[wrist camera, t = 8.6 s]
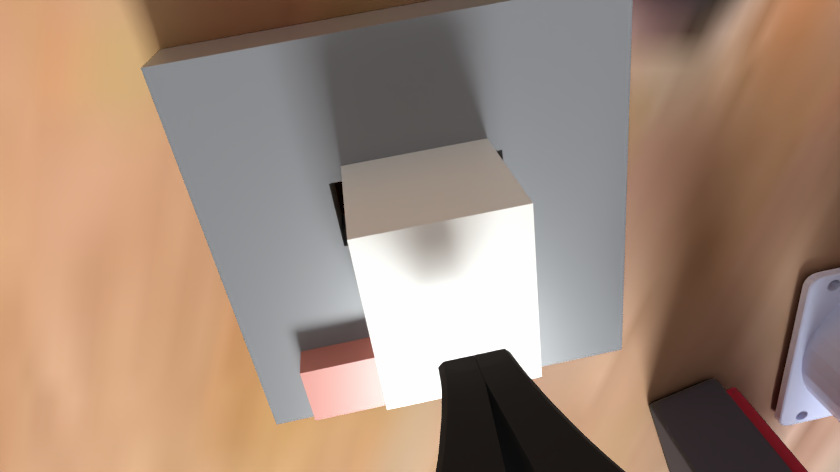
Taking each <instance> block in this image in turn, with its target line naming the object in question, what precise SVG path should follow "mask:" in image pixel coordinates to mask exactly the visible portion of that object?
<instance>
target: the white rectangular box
mask: <svg viewBox="0 0 840 472" xmlns="http://www.w3.org/2000/svg"><path fill="white" fill-rule="evenodd" d="M341 175H342V187H343V198H344V210H345V221H346V233H347V242H348V246H349V250H350V254H351V259H352V263H353V267H354V271H355V276H356V280H357V284H358V288H359V293H360V297H361V301H362V305H363V310H364V314H365V318H366V322H367V327H368V331H369V335H370V339H371V344H372V348H373V352H374V356H375V361H376V365H377V369H378V373H379V378H380V382H381V386H382V390H383V395H384V399H385V403H386V407H387V410H389V409H394V408H398V407H403V406H408V405H412V404H417V403H422V402H426V401H431V400H436V399H440V398H442V390H441V382H440V376H439V370H438V367H439V366H440V365H441V363H442V362H444V361H449V360H453V359H458V358H462V357H467V356H472V355H476V354H481V353H486V352H490V351H495V350H500V349H506V350H508V351H509V352H511V354H512V355H513V357H514V358H515V359H516V361H517V362H518V363H519V365H520V366H521V367H522V368H523V370H524V371H525V372H526V373H527V375H528V376H529V377H530V378H531V379H534V378H538V377H542V369H541V349H540V329H539V310H538V290H537V270H536V250H535V231H534V211H533V202H532V201H531V200H530V198H529V197H528V195H527V194H526V193H525V191H524V190H523V188H522V187H521V185H520V184H519V183H518V181H517V180H516V178H515V177H514V176H513V174H512V173H511V171H510V170H509V168H508V167H507V166H506V164H505V163H504V161H503V160H502V159H501V157H500V156H499V154H498V153H497V151H496V150H495V149H494V147H493V146H492V144H491V143H490V142H489V140H488V139H487V138H486V139H481V140H476V141H470V142H465V143H460V144H455V145H449V146H444V147H439V148H434V149H428V150H423V151H418V152H412V153H407V154H402V155H397V156H391V157H386V158H381V159H376V160H370V161H365V162H360V163H355V164H349V165H344V166H341Z"/></svg>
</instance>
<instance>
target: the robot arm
mask: <svg viewBox="0 0 840 472" xmlns="http://www.w3.org/2000/svg"><path fill="white" fill-rule="evenodd" d="M438 370H439V376H440V382H441V390H442V419H441V432H440V444H439V454H438V462H437V468H436V472H625V471H624V470H623V469H621V468H620V467H619V466H618V465H617V464H616V463H614V462H613V461H612V460H611V459H610V458H609V457H608V456H607V455H605V454H604V453H603V452H602V451H601V450H600V449H599V448H598V447H597V446H596V445H594V444H593V443H592V442H591V441H590V440H589V439H588V438H587V437H586V436H585V435H584V434H583V433H582V432H581V431H580V430H579V429H578V428H577V427H576V426H575V425H574V424H573V423H572V422H571V421H570V420H569V419H568V418H567V417H566V416H565V415H564V414H563V413H562V412H561V411H560V410H559V409H558V408H557V407H556V406H555V405H554V404H553V403H552V402H551V401H550V400H549V399H548V397H547V396H546V395H545V394H544V393H543V392H542V391H541V390H540V388H539V387H538V386H537V385H536V384H535V383H534V382H533V380H532V379H531V378H530V377H529V376H528V375H527V373H526V372H525V371H524V370H523V368H522V367H521V366H520V365H519V363H518V362H517V361H516V359H515V358H514V357H513V355H512V354H511V352H509V351H508V350H506V349H500V350H495V351H490V352H486V353H481V354H476V355H472V356H467V357H462V358H458V359H453V360H449V361H444V362H442V363H441V365H440V366H439V367H438ZM832 415H833V416H834V417H835V418H836V419H837V420H838V421H839V422H840V268H835V269H831V270H826V271H821V272H817V273H814V274H812V275H810V276H809V277H808V278H807V279H806V280H805V281H804V284H803V287H802V291H801V296H800V300H799V305H798V310H797V314H796V319H795V324H794V328H793V333H792V337H791V342H790V347H789V351H788V356H787V361H786V365H785V370H784V374H783V379H782V384H781V388H780V393H779V398H778V402H777V407H776V411H775V418H776V419H777V420H778V422H779V423H780V424H781V425H784V426H787V425H793V424H797V423H801V422H806V421H810V420H814V419H819V418H823V417H828V416H832Z"/></svg>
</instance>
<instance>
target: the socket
mask: <svg viewBox="0 0 840 472" xmlns="http://www.w3.org/2000/svg"><path fill="white" fill-rule="evenodd" d="M632 3H633V0H430V1H424V2H419V3H413V4H408V5H402V6H397V7H391V8H386V9H380V10H375V11H369V12H364V13H358V14H353V15H347V16H342V17H336V18H331V19H325V20H320V21H314V22H309V23H303V24H298V25H292V26H287V27H281V28H276V29H270V30H265V31H259V32H254V33H248V34H243V35H237V36H232V37H226V38H221V39H215V40H210V41H204V42H198V43H193V44H187V45H182V46H176V47H171V48H165V49H160V50H159V51H158V52H157V53H156V54H155V55H154V56H153V57H152V58H151V59H150V60H149V61H148V62H147V63H146V64H145V65H144V66H143V67H141V70H142V72H143V75H144V78H145V80H146V83H147V85H148V88H149V91H150V93H151V96H152V99H153V101H154V104H155V106H156V109H157V112H158V114H159V117H160V120H161V122H162V125H163V127H164V130H165V133H166V135H167V138H168V141H169V143H170V146H171V148H172V151H173V154H174V156H175V159H176V162H177V164H178V167H179V169H180V172H181V175H182V177H183V180H184V183H185V185H186V188H187V190H188V193H189V196H190V198H191V201H192V204H193V206H194V209H195V211H196V214H197V217H198V219H199V222H200V225H201V227H202V230H203V232H204V235H205V238H206V240H207V243H208V246H209V248H210V251H211V253H212V256H213V259H214V261H215V264H216V267H217V269H218V272H219V274H220V277H221V280H222V282H223V285H224V287H225V290H226V293H227V295H228V298H229V301H230V303H231V306H232V308H233V311H234V314H235V316H236V319H237V322H238V324H239V327H240V329H241V332H242V335H243V337H244V340H245V343H246V345H247V348H248V350H249V353H250V356H251V358H252V361H253V364H254V366H255V369H256V371H257V374H258V377H259V379H260V382H261V385H262V387H263V390H264V392H265V395H266V398H267V400H268V403H269V406H270V408H271V411H272V413H273V416H274V419H275V421H276V424H281V423H286V422H290V421H295V420H300V419H304V418H309V417H313V416H314V418H315V421H316V420H320V419H325V418H329V417H334V416H338V415H343V414H348V413H352V412H357V411H361V410H366V409H371V408H375V407H380V406H384V405H386V403H385V399H384V395H383V390H382V386H381V382H380V378H379V373H378V369H377V365H376V361H375V356H374V352H373V348H372V344H371V339H370V335H369V331H368V327H367V322H366V318H365V314H364V310H363V305H362V301H361V297H360V293H359V288H358V284H357V280H356V276H355V271H354V267H353V263H352V259H351V254H350V250H349V246H348V242H347V233H346V221H345V214H343V215H342V213H341V209H340V205H339V201H338V197H337V193H336V188H335V184H334V183H335V182H340V181H342V175H341V166H344V165H349V164H355V163H360V162H365V161H370V160H376V159H381V158H386V157H391V156H397V155H402V154H407V153H412V152H418V151H423V150H428V149H434V148H439V147H444V146H449V145H455V144H460V143H465V142H470V141H476V140H481V139H486V138H487V139H488V140H489V142H490V143H491V144H492V146H493V147H494V149H495V150H496V151H497V153H498V154H499V156H500V157H501V159H502V160H503V161H504V163H505V164H506V166H507V167H508V168H509V170H510V171H511V173H512V174H513V176H514V177H515V178H516V180H517V181H518V183H519V184H520V185H521V187H522V188H523V190H524V191H525V193H526V194H527V195H528V197H529V198H530V200H531V201H532V202H533V211H534V231H535V250H536V270H537V290H538V310H539V329H540V349H541V367H543V366H548V365H552V364H557V363H561V362H566V361H570V360H575V359H580V358H584V357H589V356H593V355H598V354H603V353H607V352H612V351H616V350H621V349H622V322H623V290H624V258H625V226H626V194H627V162H628V130H629V98H630V66H631V34H632Z"/></svg>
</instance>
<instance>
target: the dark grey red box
mask: <svg viewBox="0 0 840 472" xmlns="http://www.w3.org/2000/svg"><path fill="white" fill-rule="evenodd" d="M649 408H650V412H651V415H652V418H653V421H654V424H655V427H656V430H657V434H658V437H659V440H660V443H661V446H662V449H663V452H664V456H665V459H666V462H667V465H668V468H669V471H670V472H808V471H807V470H806V469H805V468H804V466H803V465H802V464H801V463H800V462H799V461H798V459H797V458H796V457H795V456H794V455H793V454H792V452H791V451H790V450H789V449H788V448H787V447H786V445H785V444H784V443H783V442H782V441H781V440H780V438H779V437H778V436H777V435H776V434H775V432H774V431H773V430H772V429H771V428H770V427H769V425H768V424H767V423H766V422H765V421H764V420H763V418H762V417H761V416H760V415H759V414H758V413H757V411H756V410H755V409H754V408H753V407H752V405H751V404H750V403H749V402H748V401H747V400H746V398H745V397H744V396H743V395H742V394H741V393H740V392H739V391H738V389H737V388H735V387H732V388H730V389H728V390H725V389H724V388H723V387H722V385H721V384H720V383H719V382H718V381H717V380H716V379H713V378H711V379H708V380H706V381H703V382H701V383H699V384H696V385H694V386H691V387H689V388H687V389H684V390H682V391H679V392H677V393H675V394H672V395H670V396H667V397H665V398H663V399H660V400H658V401H655V402H653V403H651V404H650V406H649Z"/></svg>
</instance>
